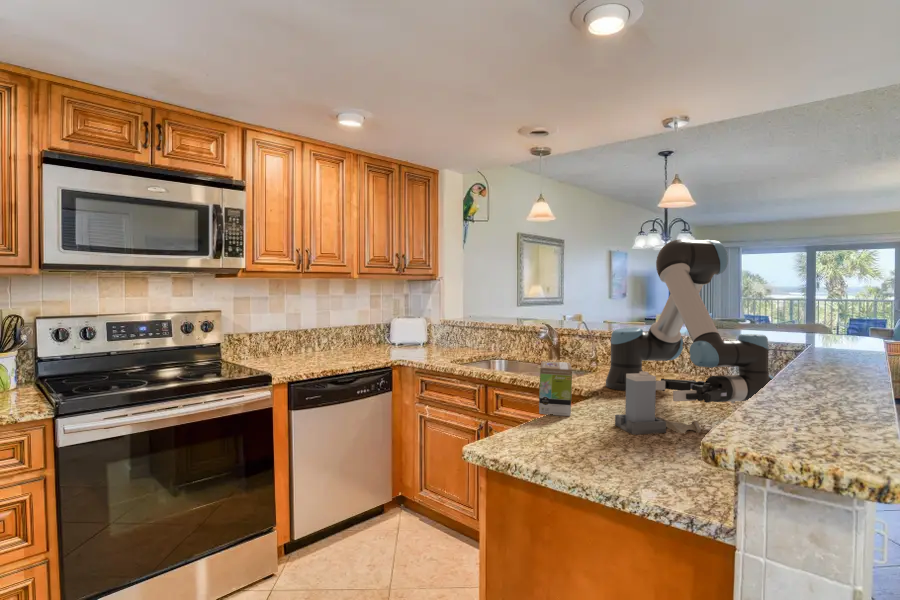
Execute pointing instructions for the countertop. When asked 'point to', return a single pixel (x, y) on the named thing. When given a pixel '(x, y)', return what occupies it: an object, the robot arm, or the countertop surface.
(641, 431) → the pocket
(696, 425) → the fossil
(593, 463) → the countertop surface
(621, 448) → the countertop surface
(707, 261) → the robot arm
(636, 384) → the grey tall block
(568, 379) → the tea box
